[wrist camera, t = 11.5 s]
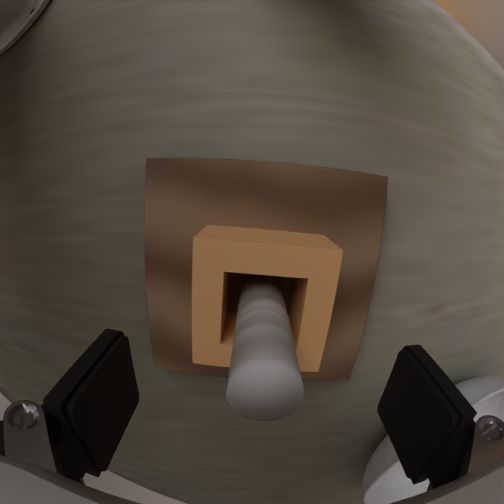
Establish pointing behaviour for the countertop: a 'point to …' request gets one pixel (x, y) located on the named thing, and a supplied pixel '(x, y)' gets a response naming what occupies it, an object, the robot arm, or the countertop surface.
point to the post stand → (252, 285)
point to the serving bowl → (387, 462)
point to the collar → (262, 263)
